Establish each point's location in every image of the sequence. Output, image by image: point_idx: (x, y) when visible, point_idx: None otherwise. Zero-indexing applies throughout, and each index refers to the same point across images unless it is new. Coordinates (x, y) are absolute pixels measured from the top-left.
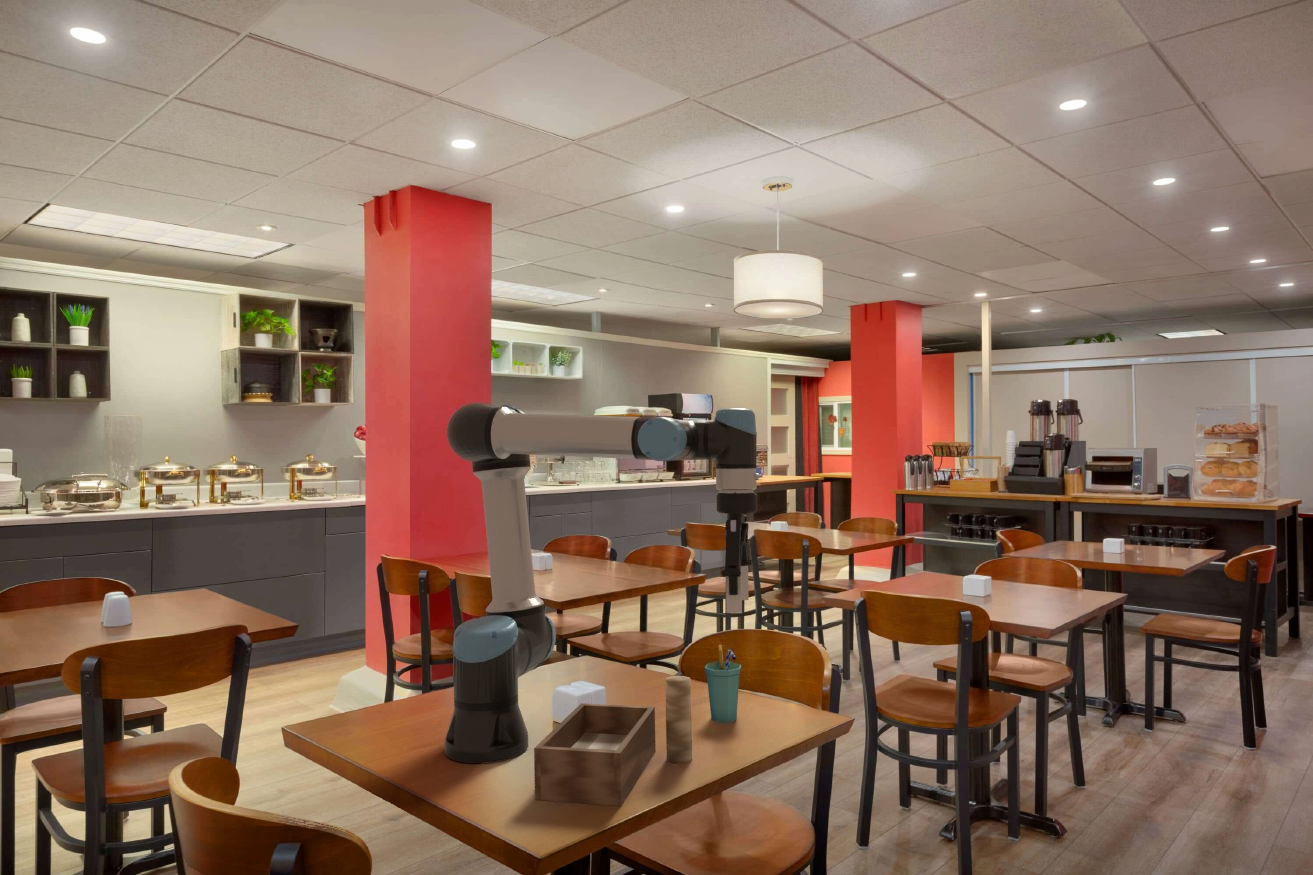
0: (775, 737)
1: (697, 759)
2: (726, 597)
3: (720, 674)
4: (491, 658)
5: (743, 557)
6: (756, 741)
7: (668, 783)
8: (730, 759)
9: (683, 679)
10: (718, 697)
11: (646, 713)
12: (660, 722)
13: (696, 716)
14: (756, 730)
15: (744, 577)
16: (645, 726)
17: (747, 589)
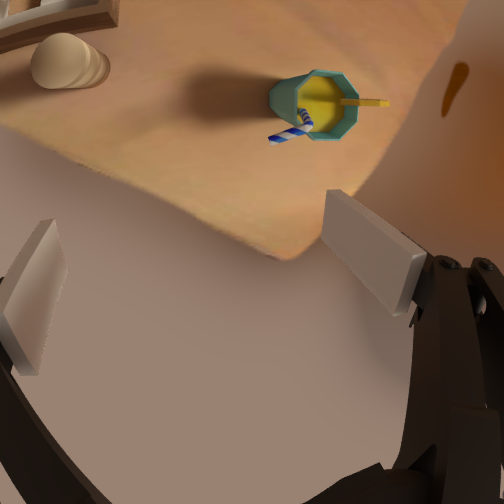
0: (210, 184)
1: (94, 94)
2: (20, 251)
3: (292, 101)
4: None
5: (417, 333)
6: (187, 161)
7: (10, 90)
8: (104, 140)
9: (55, 72)
10: (281, 94)
11: (67, 13)
12: (257, 6)
13: (293, 56)
14: (237, 153)
15: (367, 272)
16: (39, 28)
17: (340, 255)
